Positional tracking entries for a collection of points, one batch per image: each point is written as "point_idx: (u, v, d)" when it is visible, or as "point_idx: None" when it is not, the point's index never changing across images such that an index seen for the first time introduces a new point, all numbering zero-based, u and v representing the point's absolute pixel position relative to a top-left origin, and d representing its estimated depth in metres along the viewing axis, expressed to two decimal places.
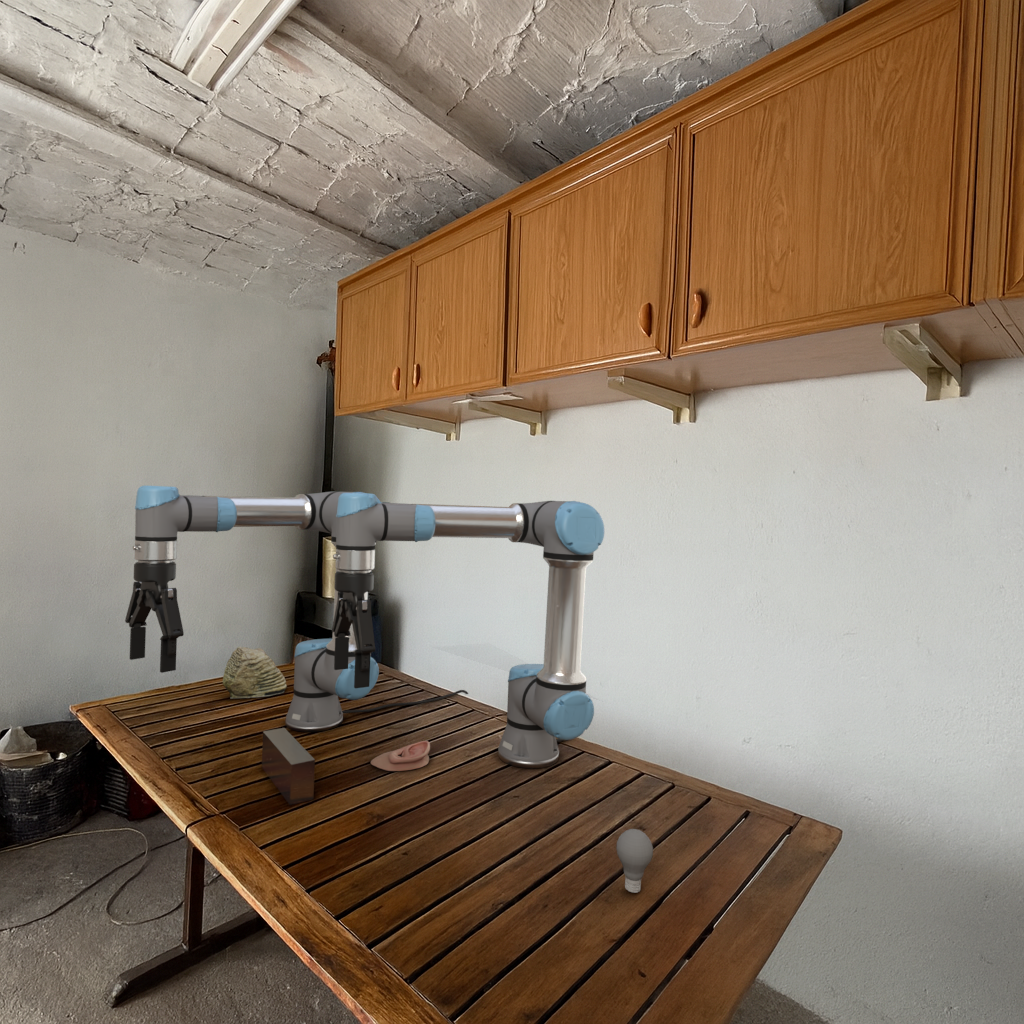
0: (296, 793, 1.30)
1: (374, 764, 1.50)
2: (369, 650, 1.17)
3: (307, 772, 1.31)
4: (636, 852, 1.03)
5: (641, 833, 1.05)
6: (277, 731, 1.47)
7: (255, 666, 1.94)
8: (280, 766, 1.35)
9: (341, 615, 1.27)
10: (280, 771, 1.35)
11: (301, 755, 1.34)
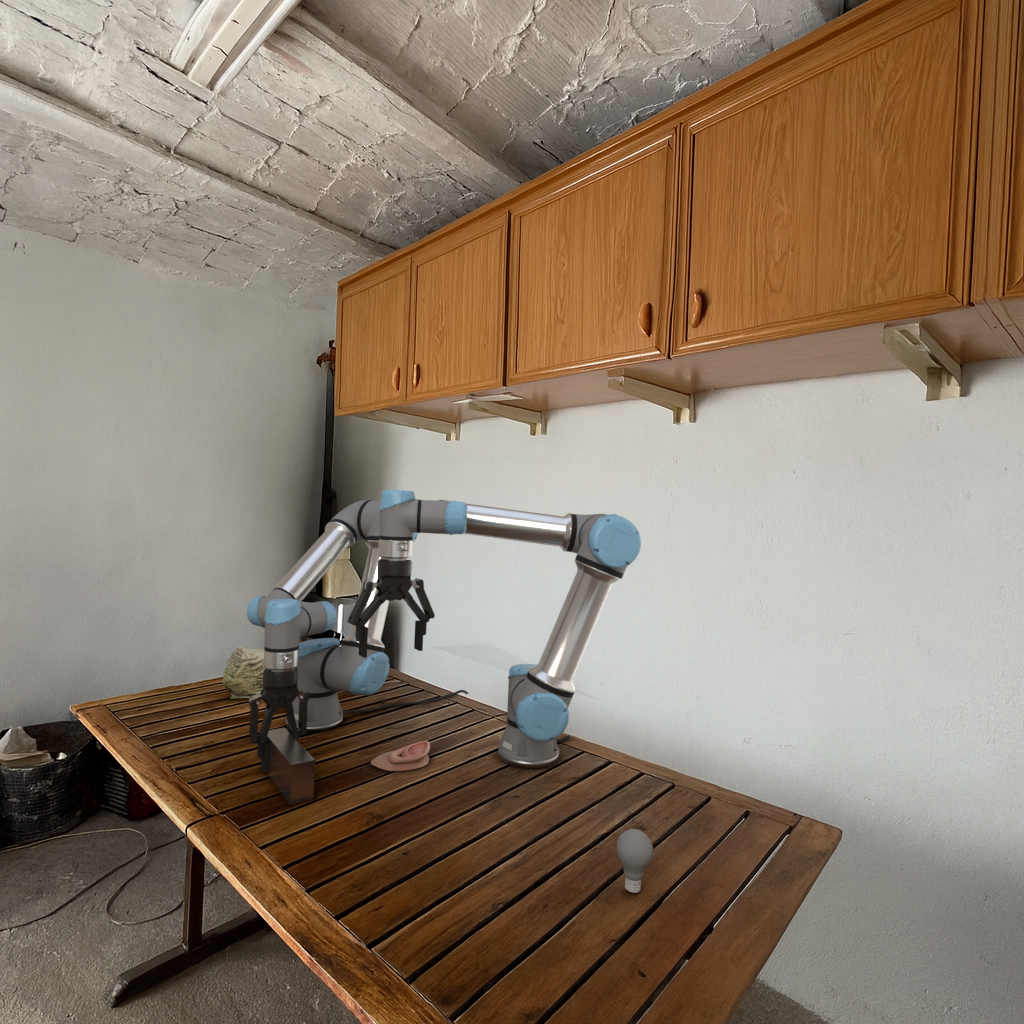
0: (296, 793, 1.30)
1: (374, 764, 1.50)
2: None
3: (307, 772, 1.32)
4: (636, 852, 1.03)
5: (641, 833, 1.05)
6: (277, 731, 1.47)
7: (255, 666, 1.94)
8: (280, 766, 1.35)
9: None
10: (281, 771, 1.35)
11: (301, 755, 1.34)
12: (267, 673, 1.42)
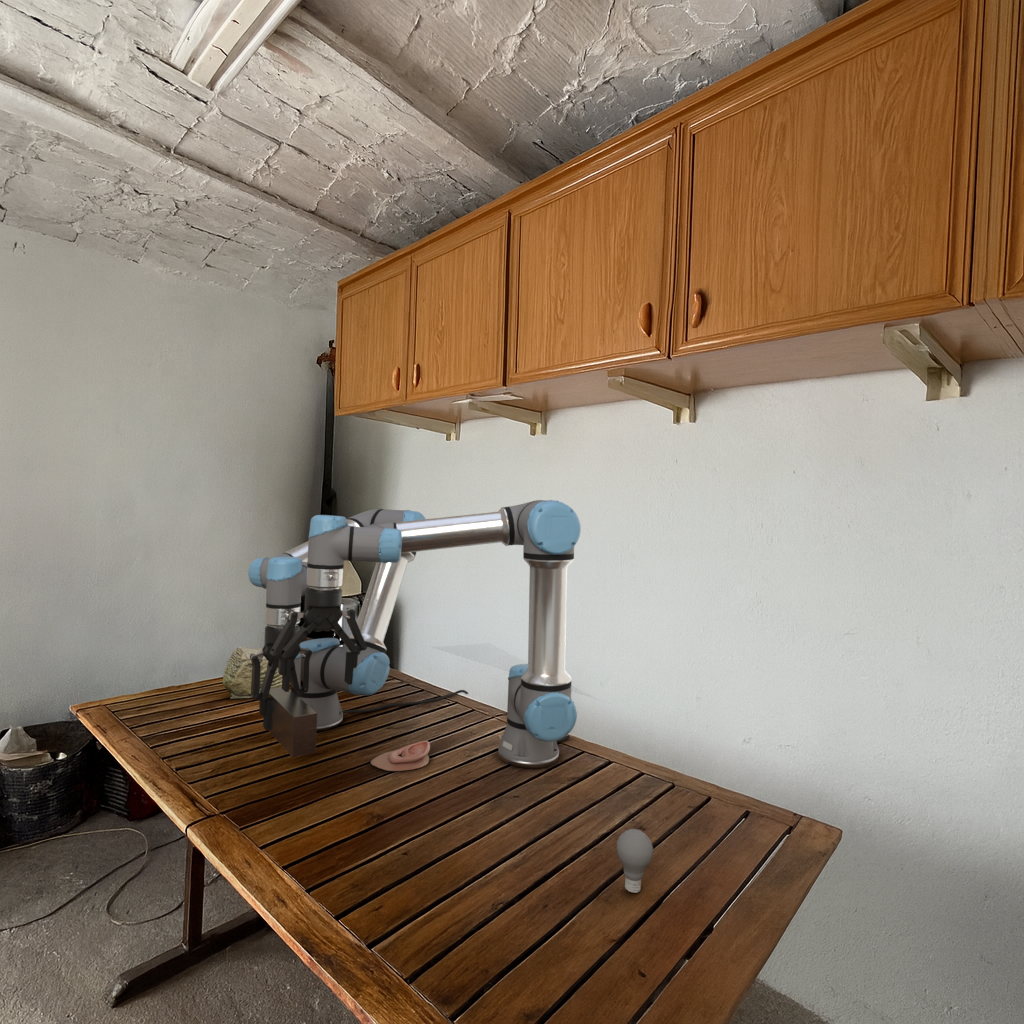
0: (298, 746, 1.30)
1: (374, 764, 1.50)
2: None
3: (309, 725, 1.31)
4: (636, 852, 1.03)
5: (641, 833, 1.05)
6: (279, 689, 1.47)
7: None
8: (282, 720, 1.35)
9: None
10: (283, 726, 1.35)
11: (303, 709, 1.34)
12: (269, 629, 1.42)
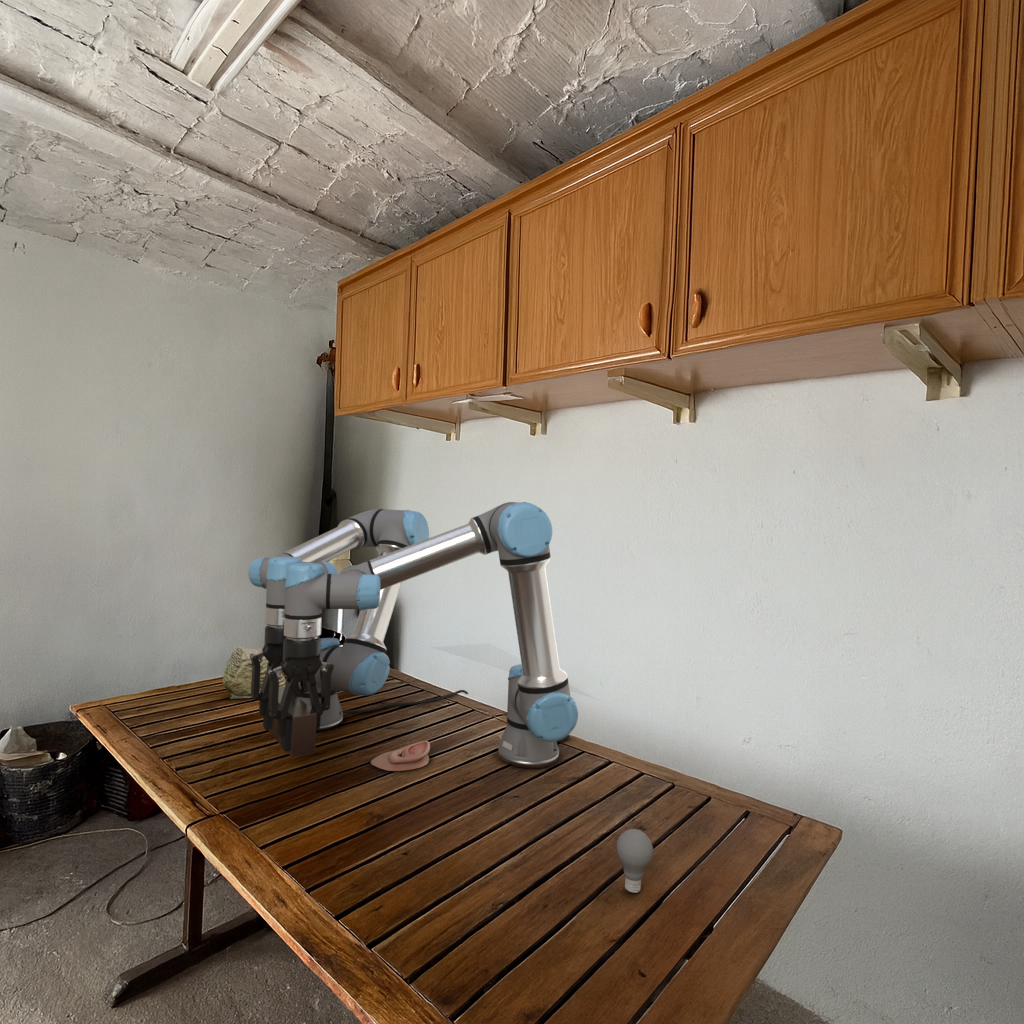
0: (298, 746, 1.30)
1: (374, 764, 1.50)
2: None
3: (309, 725, 1.31)
4: (636, 852, 1.03)
5: (641, 833, 1.05)
6: (279, 689, 1.47)
7: None
8: None
9: None
10: None
11: (303, 709, 1.34)
12: (269, 629, 1.42)
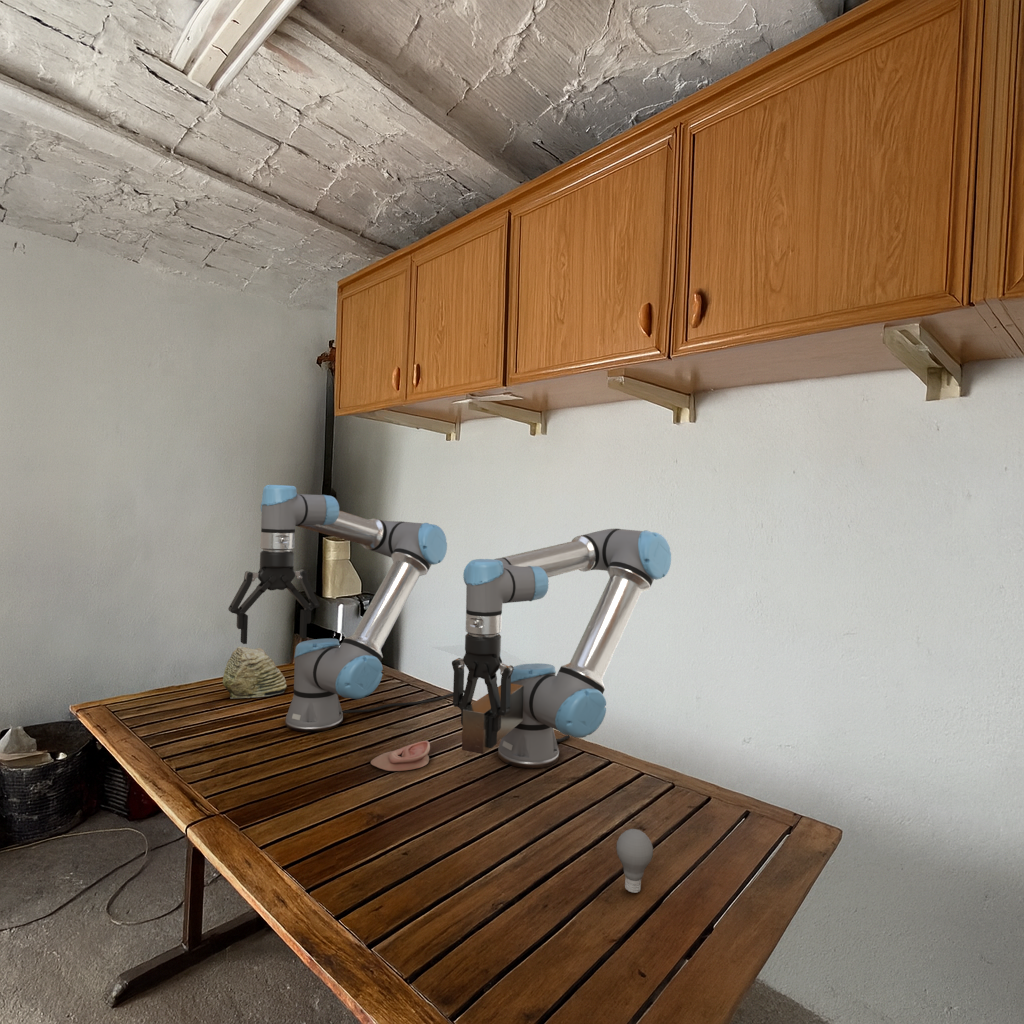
0: (467, 740, 1.30)
1: (374, 764, 1.50)
2: (507, 711, 1.31)
3: (476, 723, 1.29)
4: (636, 852, 1.03)
5: (641, 833, 1.05)
6: (512, 686, 1.47)
7: (255, 666, 1.94)
8: None
9: (472, 680, 1.32)
10: None
11: (484, 706, 1.33)
12: (264, 553, 1.46)
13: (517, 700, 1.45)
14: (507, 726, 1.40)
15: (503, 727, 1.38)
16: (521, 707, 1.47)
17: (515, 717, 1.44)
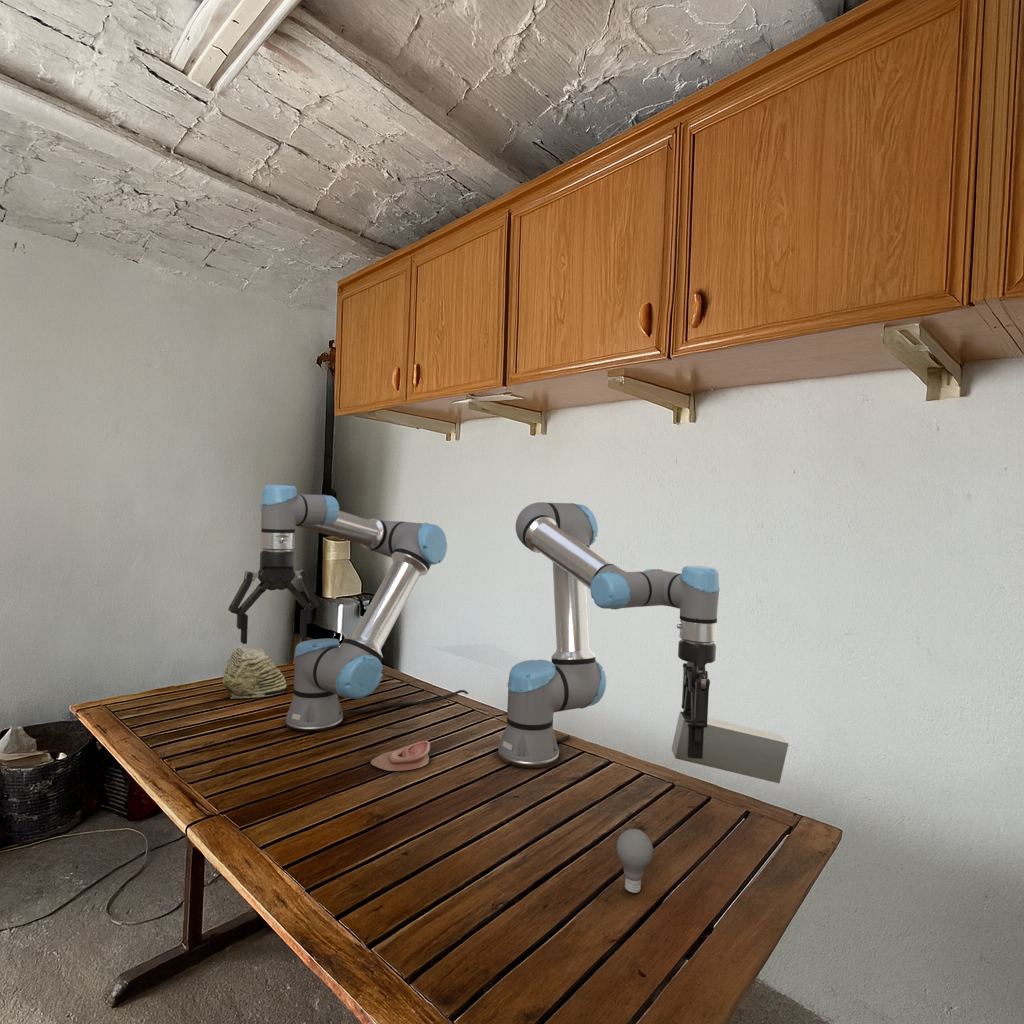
0: (674, 742, 1.33)
1: (374, 764, 1.50)
2: (701, 725, 1.26)
3: (680, 727, 1.31)
4: (636, 852, 1.03)
5: (641, 833, 1.05)
6: (776, 737, 1.30)
7: (255, 666, 1.94)
8: None
9: (686, 685, 1.33)
10: None
11: None
12: (264, 553, 1.46)
13: (767, 750, 1.28)
14: (736, 765, 1.29)
15: (727, 760, 1.29)
16: (778, 765, 1.28)
17: (759, 767, 1.28)
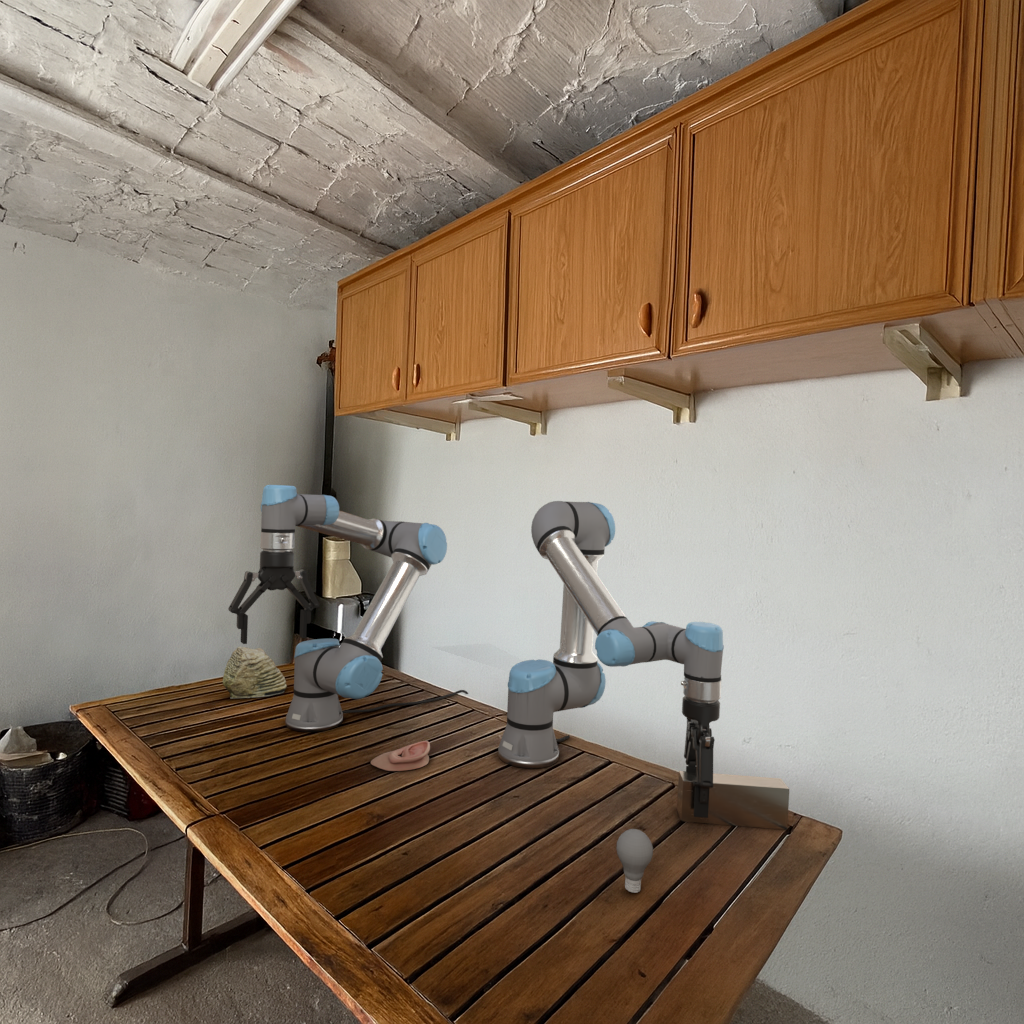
0: (678, 802, 1.34)
1: (374, 764, 1.50)
2: (707, 786, 1.25)
3: (681, 788, 1.31)
4: (636, 852, 1.03)
5: (641, 833, 1.05)
6: (777, 783, 1.30)
7: (255, 666, 1.94)
8: None
9: (689, 739, 1.34)
10: None
11: None
12: (264, 553, 1.46)
13: (769, 798, 1.29)
14: (742, 818, 1.29)
15: (732, 814, 1.29)
16: (783, 812, 1.28)
17: (764, 816, 1.29)
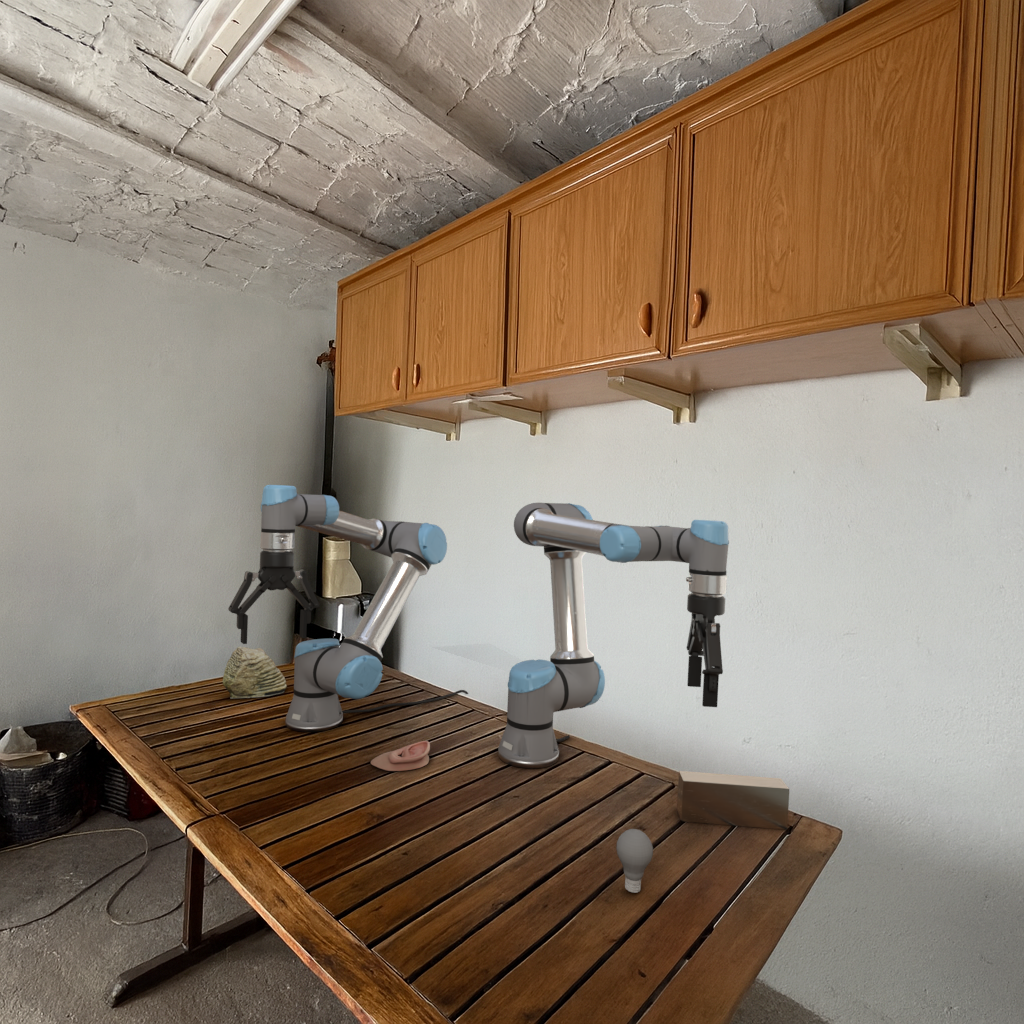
0: (678, 802, 1.34)
1: (374, 764, 1.50)
2: (716, 672, 1.22)
3: (681, 788, 1.31)
4: (636, 852, 1.03)
5: (641, 833, 1.05)
6: (777, 783, 1.30)
7: (255, 666, 1.94)
8: None
9: (694, 635, 1.35)
10: None
11: (699, 778, 1.31)
12: (264, 553, 1.46)
13: (769, 798, 1.29)
14: (742, 818, 1.29)
15: (732, 814, 1.29)
16: (783, 812, 1.28)
17: (764, 816, 1.29)
